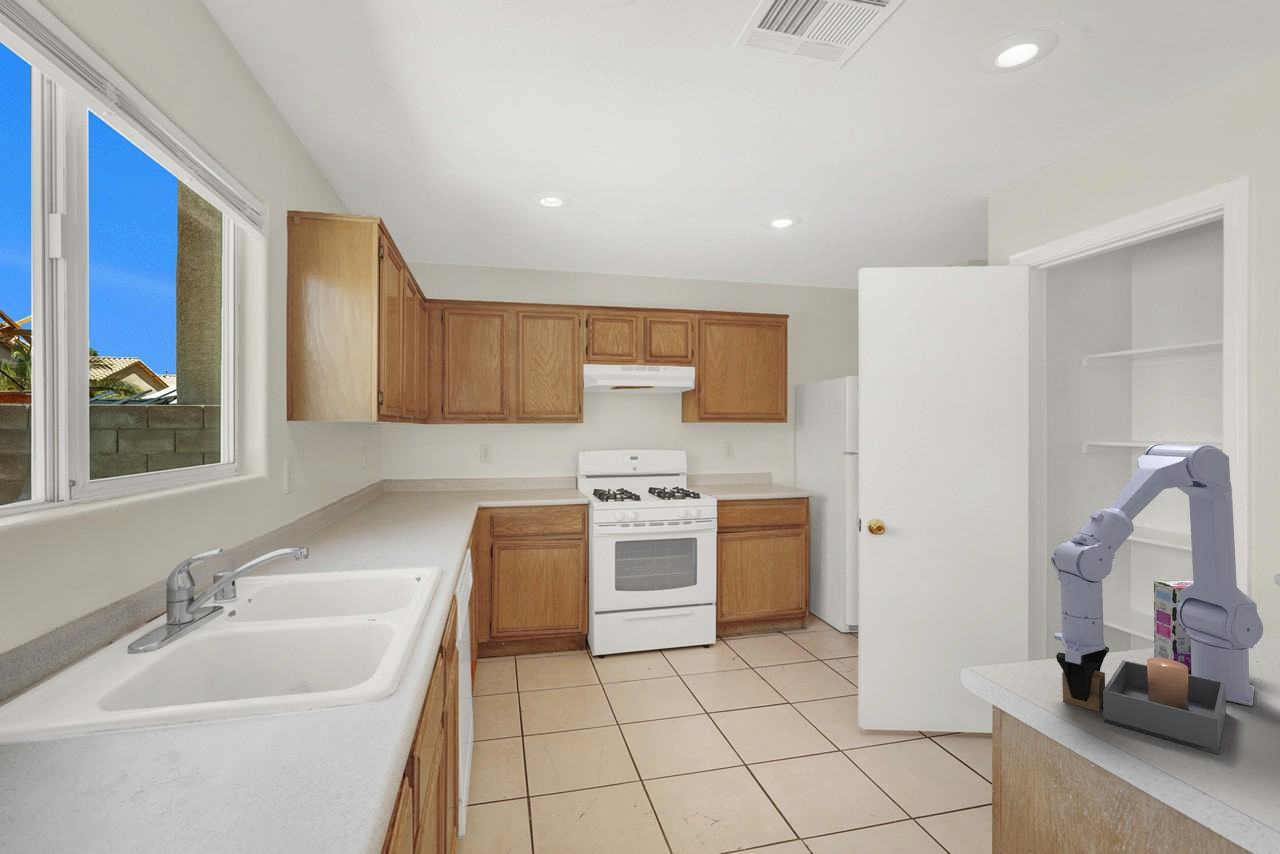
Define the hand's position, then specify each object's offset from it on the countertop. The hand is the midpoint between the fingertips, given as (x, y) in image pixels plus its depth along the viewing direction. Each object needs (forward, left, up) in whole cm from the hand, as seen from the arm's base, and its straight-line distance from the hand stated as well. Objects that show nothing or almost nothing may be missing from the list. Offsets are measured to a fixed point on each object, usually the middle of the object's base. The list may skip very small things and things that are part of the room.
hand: (1084, 692), depth 100 cm
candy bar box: (-30, +12, -2) cm, 32 cm away
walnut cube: (0, 0, -2) cm, 2 cm away
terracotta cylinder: (-6, +10, -1) cm, 12 cm away
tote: (-2, +10, -1) cm, 11 cm away
